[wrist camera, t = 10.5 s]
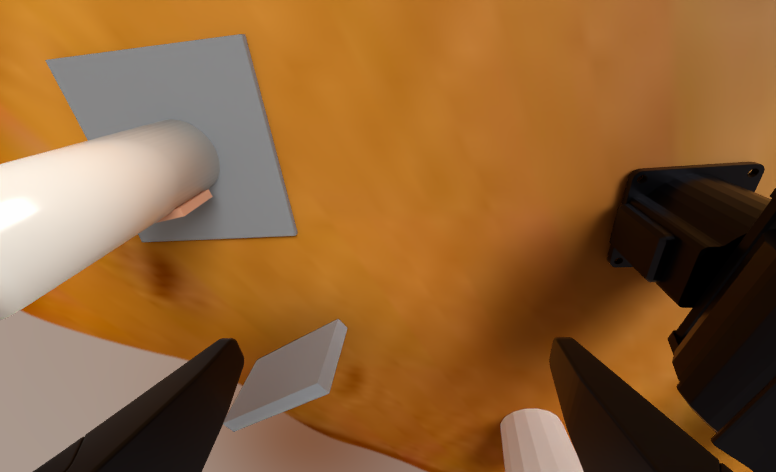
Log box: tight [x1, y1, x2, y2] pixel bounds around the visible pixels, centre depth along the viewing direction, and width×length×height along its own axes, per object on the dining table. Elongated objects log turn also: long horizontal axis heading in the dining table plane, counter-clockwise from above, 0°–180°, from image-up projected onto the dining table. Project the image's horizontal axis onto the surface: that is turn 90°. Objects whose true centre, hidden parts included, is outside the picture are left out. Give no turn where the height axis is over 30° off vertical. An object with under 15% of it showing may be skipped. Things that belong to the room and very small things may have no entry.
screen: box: [223, 319, 347, 432], centre depth 26 cm, size 10×1×6 cm, turn 126°
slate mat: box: [45, 34, 297, 242], centre depth 21 cm, size 12×12×1 cm
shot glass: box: [500, 408, 584, 472], centre depth 28 cm, size 7×7×7 cm
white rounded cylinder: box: [0, 119, 220, 320], centre depth 15 cm, size 5×5×12 cm
